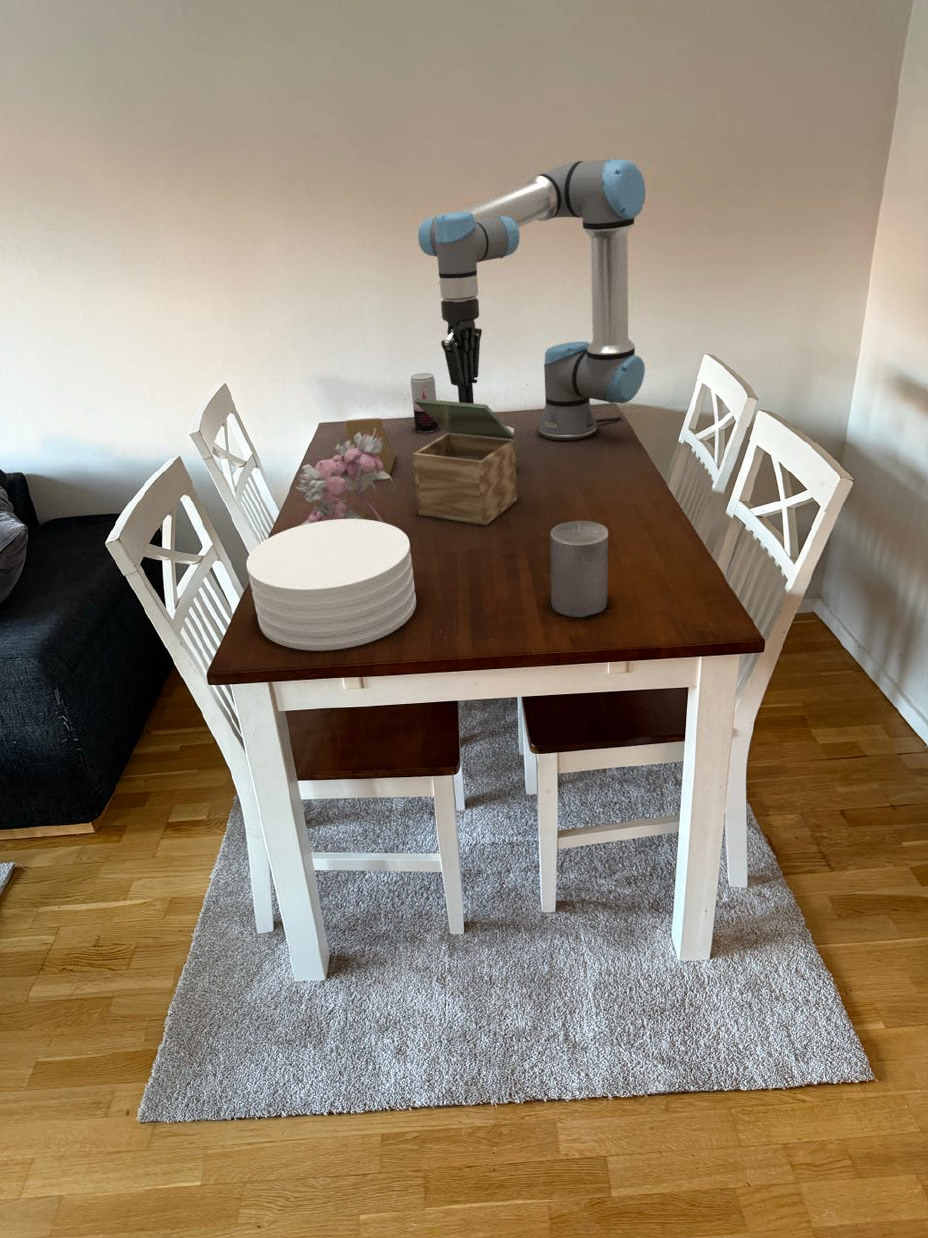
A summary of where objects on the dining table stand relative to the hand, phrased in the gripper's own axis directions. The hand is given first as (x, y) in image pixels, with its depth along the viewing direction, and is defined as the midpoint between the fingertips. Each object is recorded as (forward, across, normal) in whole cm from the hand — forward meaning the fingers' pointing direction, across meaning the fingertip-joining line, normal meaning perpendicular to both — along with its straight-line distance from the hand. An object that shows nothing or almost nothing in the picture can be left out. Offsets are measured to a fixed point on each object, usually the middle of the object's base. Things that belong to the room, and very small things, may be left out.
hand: (467, 414), depth 184 cm
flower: (+20, +28, -16) cm, 38 cm away
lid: (+1, +1, 0) cm, 2 cm away
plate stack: (+21, +52, +1) cm, 56 cm away
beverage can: (+20, -44, -39) cm, 62 cm away
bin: (+20, +2, 0) cm, 20 cm away
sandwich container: (+20, -12, -35) cm, 42 cm away
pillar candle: (+20, +34, +40) cm, 56 cm away
